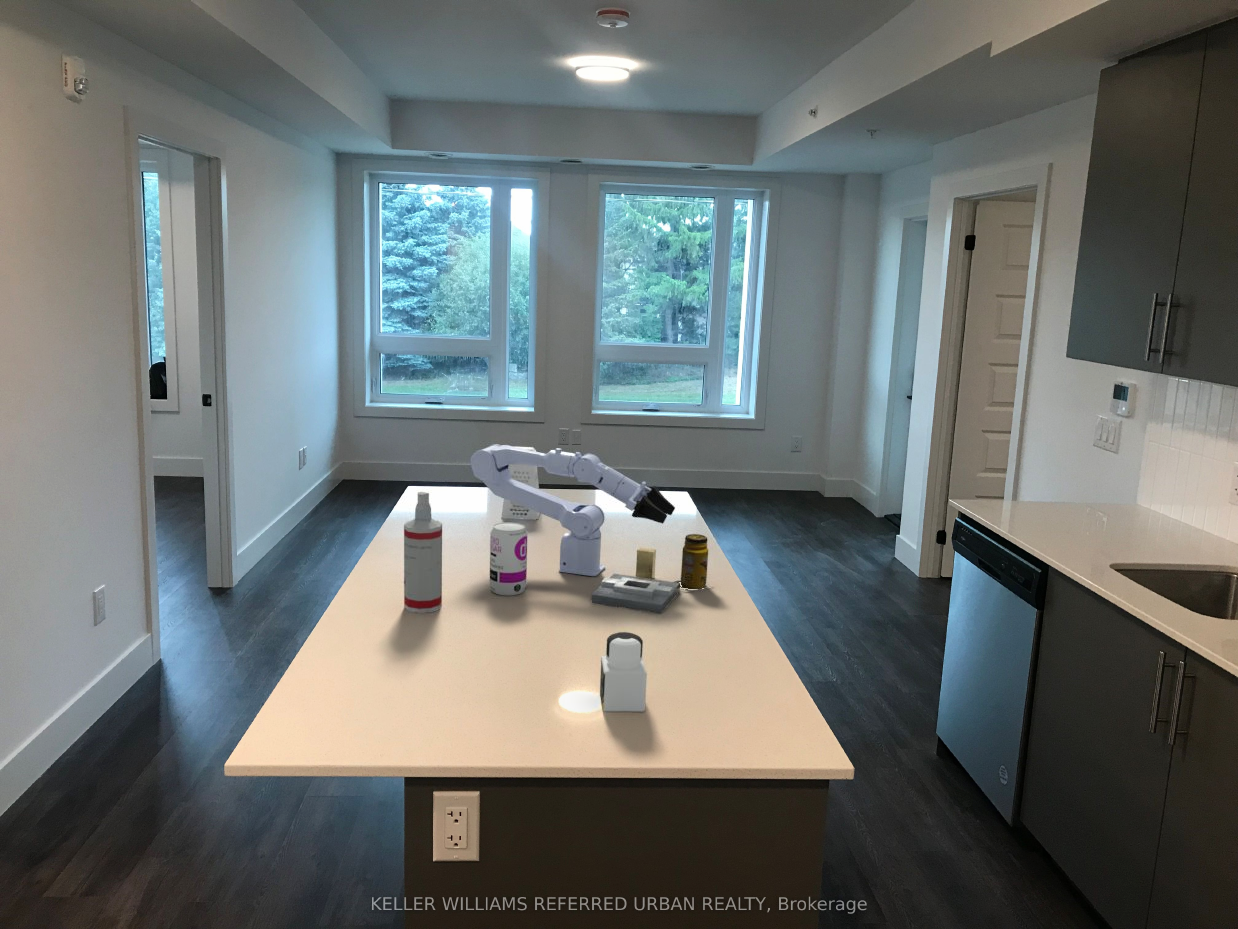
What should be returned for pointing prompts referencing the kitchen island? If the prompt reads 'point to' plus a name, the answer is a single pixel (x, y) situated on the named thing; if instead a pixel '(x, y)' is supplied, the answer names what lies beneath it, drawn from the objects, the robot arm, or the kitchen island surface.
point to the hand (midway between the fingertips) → (669, 515)
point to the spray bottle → (423, 560)
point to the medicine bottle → (623, 674)
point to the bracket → (649, 591)
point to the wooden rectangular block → (645, 563)
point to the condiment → (694, 563)
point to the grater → (525, 476)
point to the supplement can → (508, 558)
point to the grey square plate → (635, 596)
